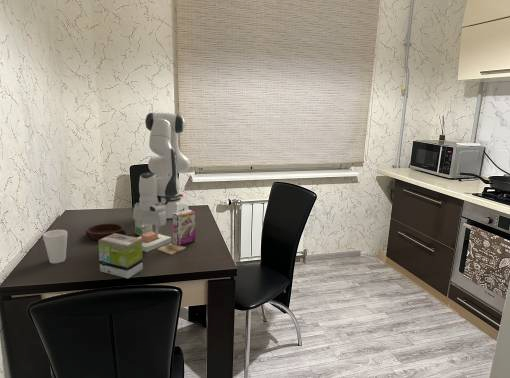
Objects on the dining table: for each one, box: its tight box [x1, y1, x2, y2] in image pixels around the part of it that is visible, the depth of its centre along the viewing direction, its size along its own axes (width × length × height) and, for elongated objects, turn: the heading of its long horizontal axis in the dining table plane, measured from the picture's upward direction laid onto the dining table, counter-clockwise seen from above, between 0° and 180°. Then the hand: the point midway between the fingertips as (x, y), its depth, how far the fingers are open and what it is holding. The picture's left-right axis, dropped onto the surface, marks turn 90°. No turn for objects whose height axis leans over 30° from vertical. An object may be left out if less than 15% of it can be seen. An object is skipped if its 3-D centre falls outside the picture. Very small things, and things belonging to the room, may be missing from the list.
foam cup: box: [42, 229, 68, 264], centre depth 161 cm, size 10×9×13 cm
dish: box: [84, 223, 127, 241], centre depth 194 cm, size 18×22×5 cm
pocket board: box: [137, 233, 173, 253], centre depth 186 cm, size 17×14×2 cm
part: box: [141, 230, 159, 243], centre depth 185 cm, size 7×4×6 cm, turn 149°
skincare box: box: [134, 220, 153, 237], centre depth 199 cm, size 8×7×16 cm
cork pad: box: [156, 242, 187, 255], centre depth 180 cm, size 10×10×1 cm
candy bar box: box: [172, 209, 197, 246], centre depth 188 cm, size 11×5×16 cm, turn 135°
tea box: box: [97, 233, 144, 279], centre depth 153 cm, size 15×10×15 cm, turn 69°
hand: (149, 231), depth 184 cm, fingers open, 8 cm apart
